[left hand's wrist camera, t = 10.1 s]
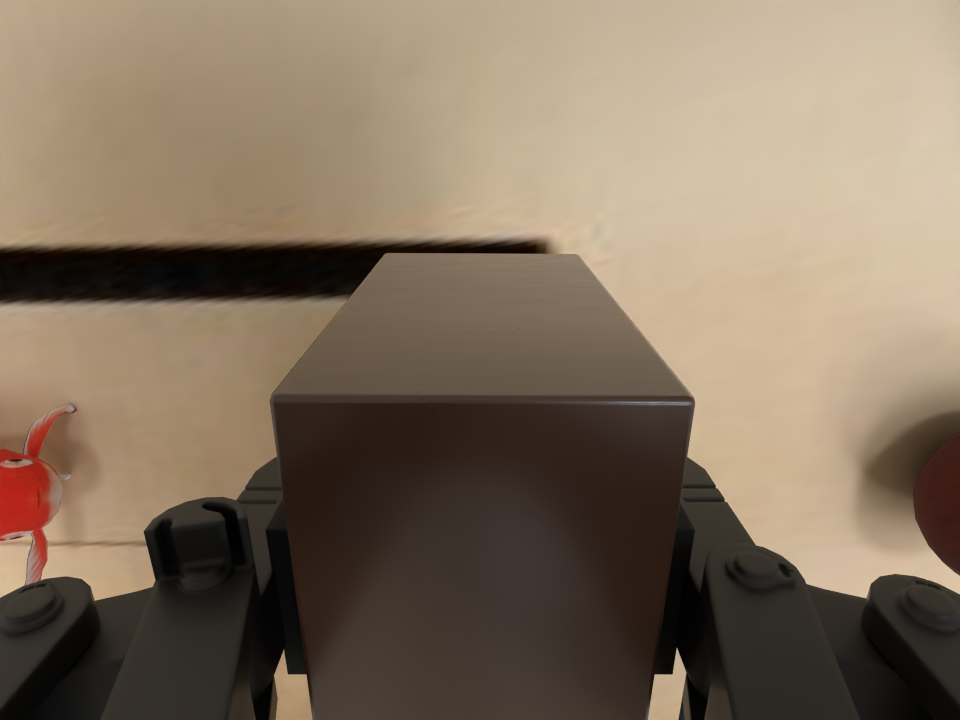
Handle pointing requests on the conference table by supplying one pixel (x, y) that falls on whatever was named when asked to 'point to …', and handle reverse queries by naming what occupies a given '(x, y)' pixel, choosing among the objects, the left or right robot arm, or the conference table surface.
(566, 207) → the conference table surface
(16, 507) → the fish
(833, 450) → the conference table surface
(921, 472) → the dark red ball
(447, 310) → the rail
